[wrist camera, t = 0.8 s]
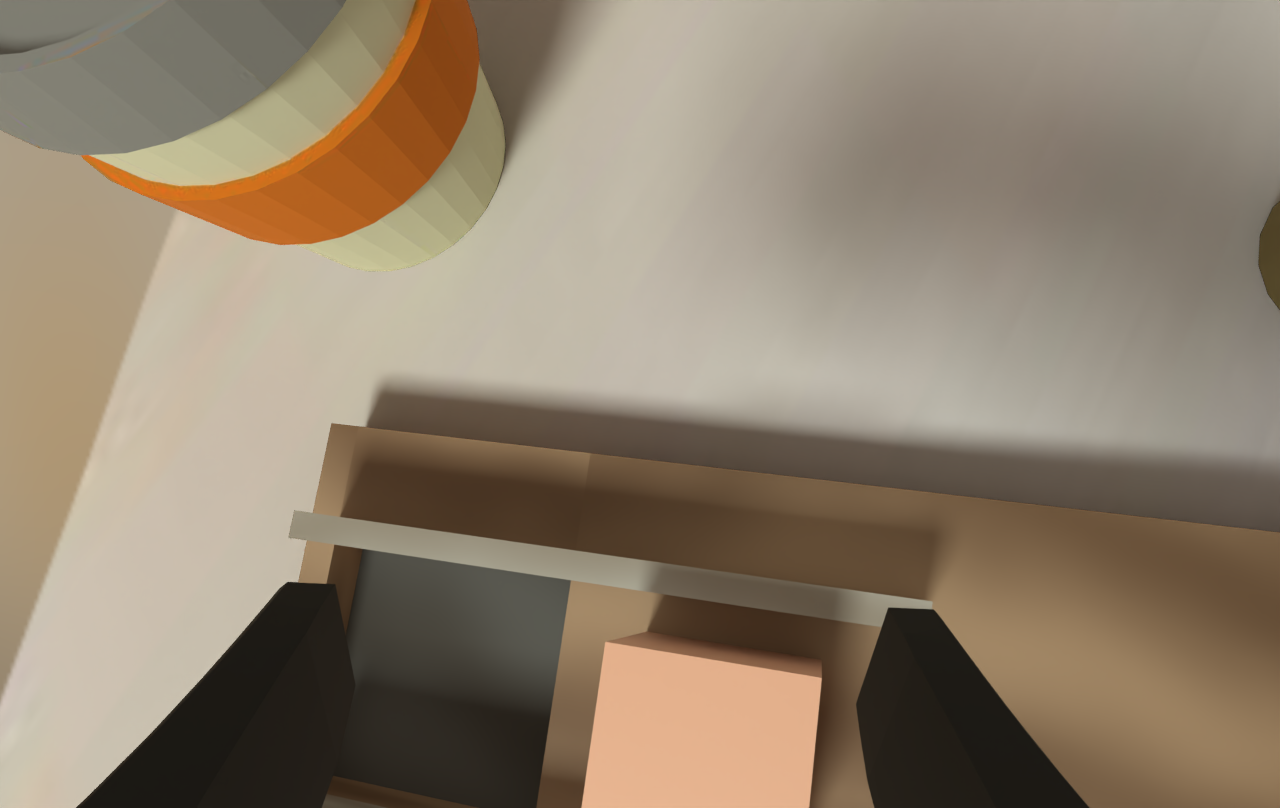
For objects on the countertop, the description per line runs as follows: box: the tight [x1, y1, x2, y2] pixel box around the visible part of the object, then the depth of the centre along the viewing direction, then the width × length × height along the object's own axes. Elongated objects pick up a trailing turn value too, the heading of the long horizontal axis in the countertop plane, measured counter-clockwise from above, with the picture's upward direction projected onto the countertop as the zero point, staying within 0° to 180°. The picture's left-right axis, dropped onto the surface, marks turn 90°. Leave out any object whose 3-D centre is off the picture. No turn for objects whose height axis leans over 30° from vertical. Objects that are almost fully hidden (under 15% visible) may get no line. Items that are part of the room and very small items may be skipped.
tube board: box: [288, 423, 1280, 808], centre depth 23 cm, size 15×30×4 cm, turn 82°
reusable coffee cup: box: [0, 0, 506, 271], centre depth 25 cm, size 13×13×15 cm
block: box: [581, 632, 822, 808], centre depth 21 cm, size 5×5×5 cm
